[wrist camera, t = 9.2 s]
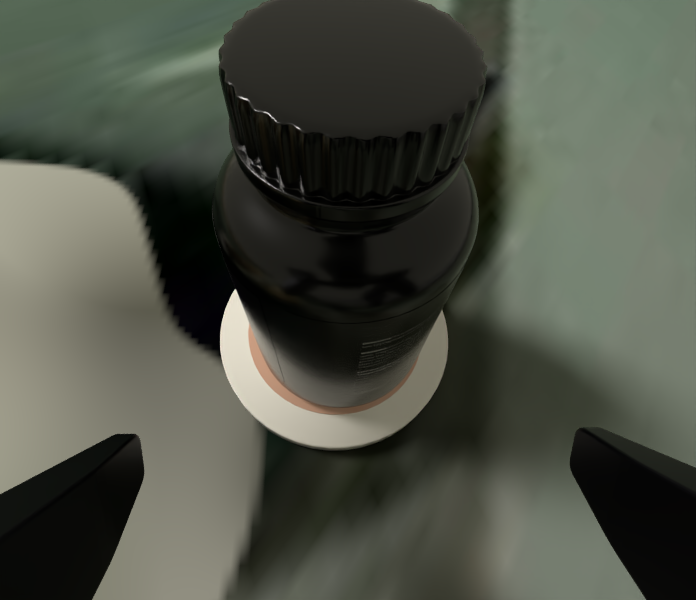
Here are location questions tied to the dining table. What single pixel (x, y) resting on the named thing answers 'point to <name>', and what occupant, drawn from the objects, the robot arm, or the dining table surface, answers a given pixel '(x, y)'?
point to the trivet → (319, 421)
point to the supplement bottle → (346, 185)
